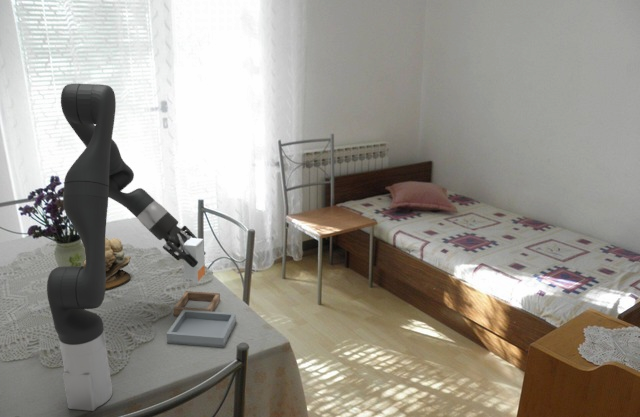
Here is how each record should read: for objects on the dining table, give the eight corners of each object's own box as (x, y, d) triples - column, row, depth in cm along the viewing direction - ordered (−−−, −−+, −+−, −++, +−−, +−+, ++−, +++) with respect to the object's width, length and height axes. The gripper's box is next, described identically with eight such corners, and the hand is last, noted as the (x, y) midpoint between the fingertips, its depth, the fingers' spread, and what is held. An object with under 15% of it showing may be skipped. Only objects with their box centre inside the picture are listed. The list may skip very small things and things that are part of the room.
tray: (223, 347, 142) (223, 338, 141) (167, 343, 144) (166, 333, 143) (236, 322, 154) (235, 313, 153) (183, 318, 156) (183, 309, 155)
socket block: (209, 318, 156) (208, 311, 155) (173, 315, 157) (173, 308, 156) (220, 300, 166) (219, 293, 166) (186, 298, 167) (186, 291, 167)
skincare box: (197, 284, 152) (195, 246, 148) (184, 282, 153) (181, 244, 149) (206, 275, 157) (204, 238, 154) (192, 273, 158) (190, 237, 154)
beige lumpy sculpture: (126, 269, 186) (121, 225, 181) (138, 282, 178) (134, 235, 172) (72, 283, 176) (66, 236, 170) (83, 297, 167) (76, 248, 161)
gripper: (155, 220, 142) (200, 262, 145) (175, 204, 156) (215, 243, 159) (138, 237, 145) (182, 278, 147) (159, 220, 158) (199, 258, 161)
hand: (199, 260), depth 153 cm, fingers closed on skincare box, 6 cm apart
